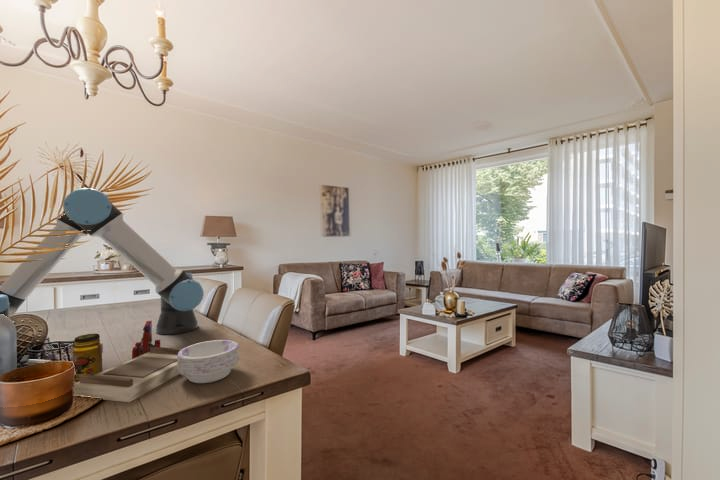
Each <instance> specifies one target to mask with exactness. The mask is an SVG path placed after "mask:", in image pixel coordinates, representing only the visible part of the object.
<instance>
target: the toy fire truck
mask: <svg viewBox="0 0 720 480" xmlns="http://www.w3.org/2000/svg"><path fill="white" fill-rule="evenodd" d="M152 324H153V321H152V320H147V321H145V324H144V327H143V328H142V331H143V333H142V337H141V339H140V341H137V342H135V346H133V347H132V349H131V350H132V353H131V359H134V358H136V357H139V356H141V355H143V354H146V353H148V352H150V348H151V347H161V339H155V340H154V344H153V343H152V342H153V334H152V333H153V331H152V327H153V325H152Z"/></svg>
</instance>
